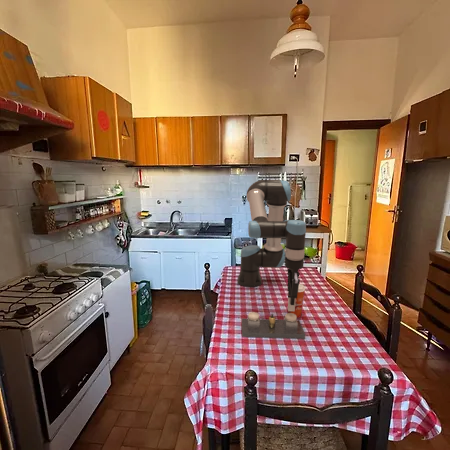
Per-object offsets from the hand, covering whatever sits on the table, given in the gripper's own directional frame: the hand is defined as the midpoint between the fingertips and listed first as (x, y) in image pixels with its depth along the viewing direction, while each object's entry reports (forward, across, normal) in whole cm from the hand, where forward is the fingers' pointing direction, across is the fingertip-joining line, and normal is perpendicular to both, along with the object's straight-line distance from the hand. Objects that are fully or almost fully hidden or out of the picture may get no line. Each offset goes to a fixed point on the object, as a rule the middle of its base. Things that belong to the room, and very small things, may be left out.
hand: (291, 310), depth 114 cm
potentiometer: (+7, 0, -8) cm, 11 cm away
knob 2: (+7, 0, 0) cm, 7 cm away
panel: (+9, 0, -8) cm, 12 cm away
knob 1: (+7, 0, -16) cm, 18 cm away
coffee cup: (+10, -14, +5) cm, 17 cm away
